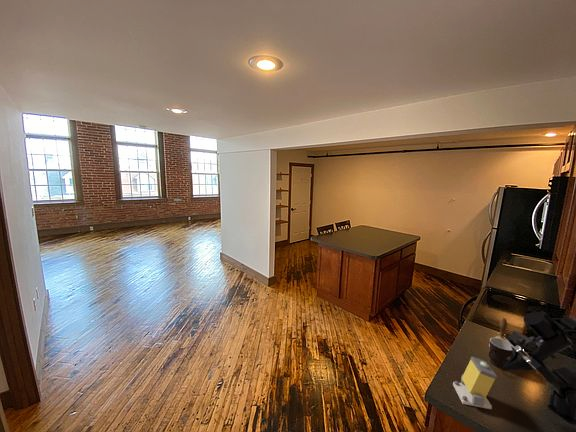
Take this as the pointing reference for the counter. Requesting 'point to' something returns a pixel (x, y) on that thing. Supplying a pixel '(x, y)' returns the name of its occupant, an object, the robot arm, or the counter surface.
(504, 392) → the counter surface
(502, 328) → the hand bell
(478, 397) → the base
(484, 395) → the yellow block on base
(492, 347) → the coffee mug
